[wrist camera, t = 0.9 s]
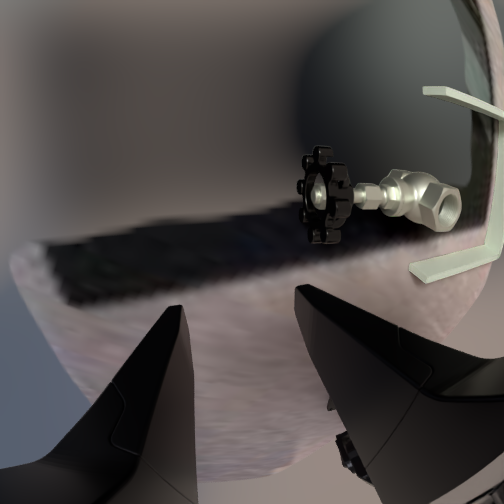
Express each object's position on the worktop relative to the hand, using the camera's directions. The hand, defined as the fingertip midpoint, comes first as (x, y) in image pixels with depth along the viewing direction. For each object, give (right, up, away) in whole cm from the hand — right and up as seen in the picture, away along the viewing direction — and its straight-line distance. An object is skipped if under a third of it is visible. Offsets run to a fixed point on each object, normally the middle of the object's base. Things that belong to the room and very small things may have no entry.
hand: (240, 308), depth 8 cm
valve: (+9, +7, +14) cm, 18 cm away
